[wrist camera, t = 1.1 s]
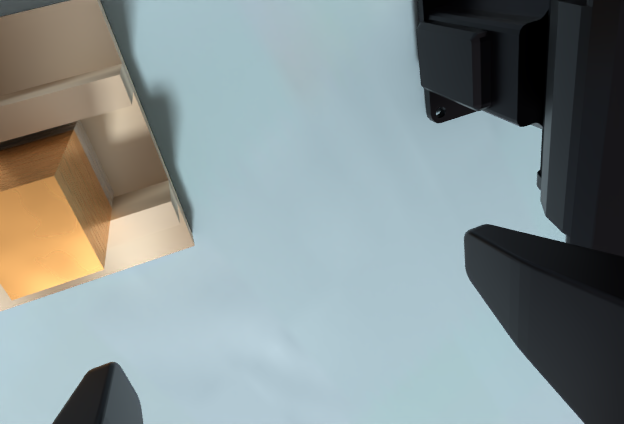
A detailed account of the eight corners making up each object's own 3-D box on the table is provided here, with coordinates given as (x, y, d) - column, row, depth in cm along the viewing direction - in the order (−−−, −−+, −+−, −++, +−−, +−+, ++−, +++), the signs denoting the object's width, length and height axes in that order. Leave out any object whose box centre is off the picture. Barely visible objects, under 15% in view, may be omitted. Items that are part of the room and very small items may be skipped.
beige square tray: (97, -7, 16) (88, -2, 14) (192, 234, 21) (199, 271, 19) (-217, 68, 15) (-293, 89, 12) (-33, 309, 20) (-59, 361, 17)
